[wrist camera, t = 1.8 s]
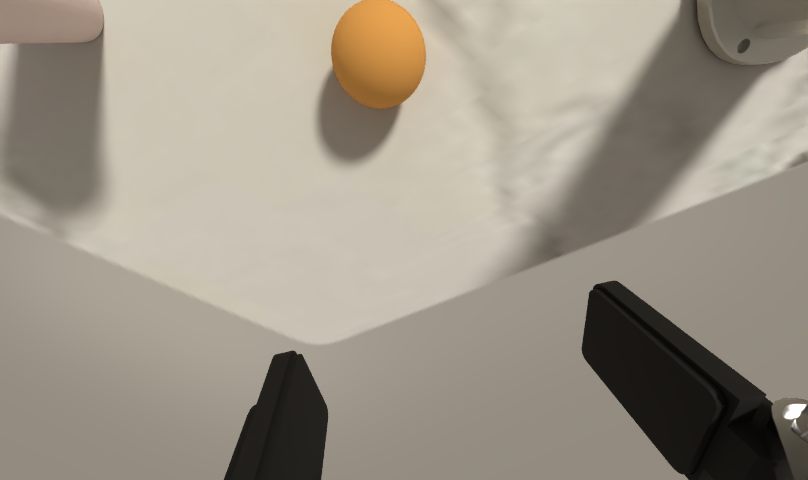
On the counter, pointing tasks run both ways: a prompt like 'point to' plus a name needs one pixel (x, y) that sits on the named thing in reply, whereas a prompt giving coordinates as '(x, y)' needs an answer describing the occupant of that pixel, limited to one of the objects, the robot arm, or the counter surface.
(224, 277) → the counter surface
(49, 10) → the smoothie
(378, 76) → the ball
